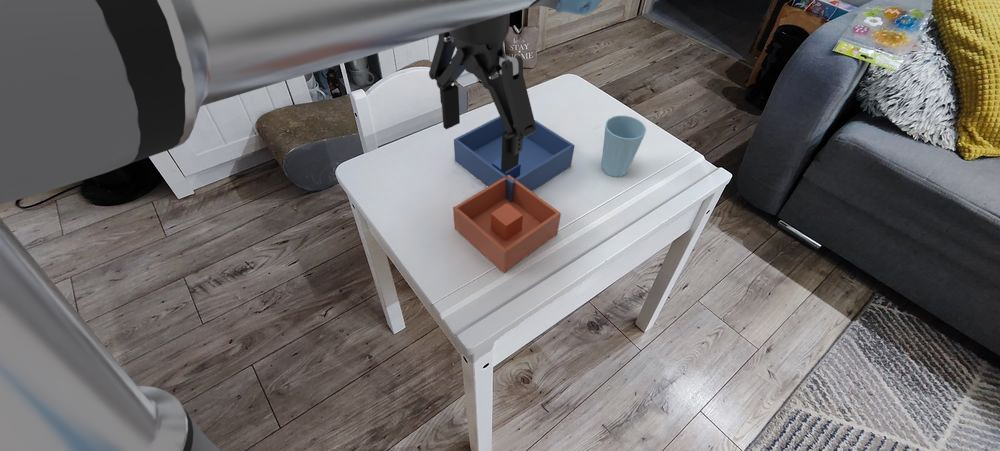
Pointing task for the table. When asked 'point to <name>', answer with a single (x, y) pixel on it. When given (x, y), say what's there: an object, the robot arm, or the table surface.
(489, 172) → the blue bin
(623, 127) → the cup
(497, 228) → the terracotta block
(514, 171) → the blue block
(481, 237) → the terracotta bin
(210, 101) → the robot arm
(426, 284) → the table surface
